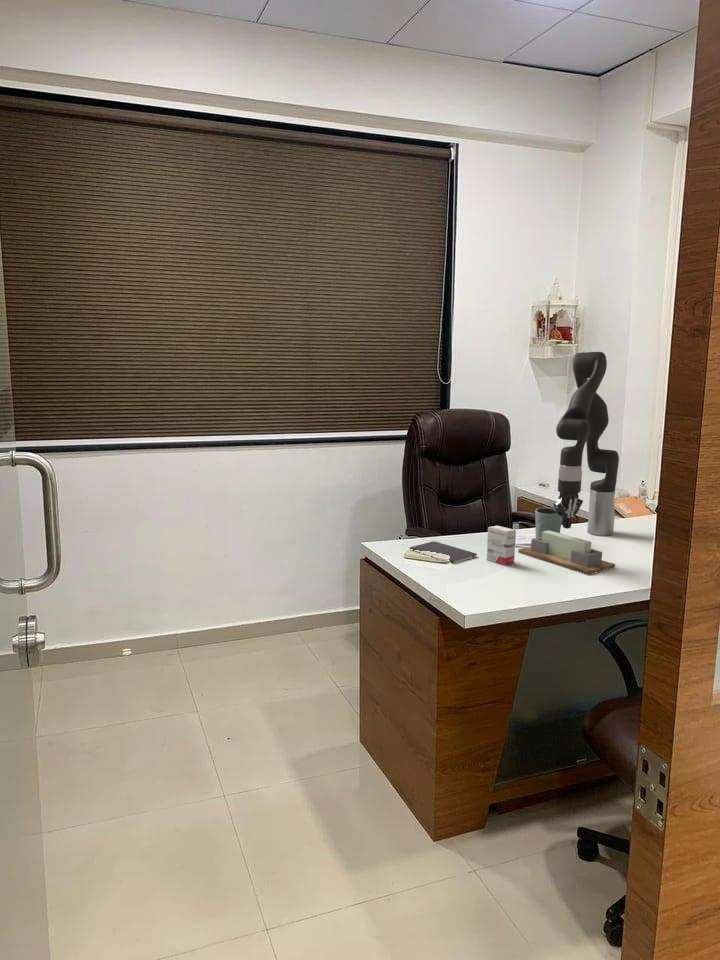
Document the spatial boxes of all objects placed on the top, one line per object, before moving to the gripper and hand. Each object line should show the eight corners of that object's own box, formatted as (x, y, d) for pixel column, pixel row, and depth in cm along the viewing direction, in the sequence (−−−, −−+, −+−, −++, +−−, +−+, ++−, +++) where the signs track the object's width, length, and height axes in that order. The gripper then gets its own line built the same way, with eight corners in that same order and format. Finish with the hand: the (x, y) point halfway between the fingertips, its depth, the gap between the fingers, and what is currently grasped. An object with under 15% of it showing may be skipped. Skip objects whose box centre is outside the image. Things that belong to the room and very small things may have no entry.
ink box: (514, 563, 238) (516, 529, 236) (505, 565, 235) (507, 531, 233) (495, 557, 244) (496, 524, 242) (485, 559, 241) (487, 526, 239)
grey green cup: (549, 536, 271) (551, 506, 269) (567, 543, 262) (568, 512, 260) (528, 539, 267) (529, 508, 265) (545, 546, 258) (546, 514, 256)
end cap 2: (587, 567, 230) (587, 555, 229) (570, 562, 235) (571, 550, 234) (601, 563, 234) (602, 552, 233) (584, 558, 239) (585, 547, 238)
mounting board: (544, 546, 258) (545, 543, 258) (614, 567, 233) (615, 564, 233) (518, 552, 250) (518, 549, 250) (587, 575, 226) (588, 571, 225)
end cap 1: (545, 546, 253) (545, 535, 253) (559, 550, 248) (560, 540, 247) (530, 549, 249) (531, 538, 249) (545, 554, 244) (546, 543, 243)
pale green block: (547, 549, 250) (548, 530, 249) (589, 562, 235) (591, 541, 234) (541, 550, 248) (542, 531, 247) (583, 563, 233) (584, 543, 232)
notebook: (409, 551, 253) (453, 565, 237) (409, 547, 252) (453, 560, 236) (433, 545, 261) (478, 558, 245) (434, 540, 260) (478, 553, 245)
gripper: (573, 474, 243) (570, 523, 246) (548, 478, 236) (545, 528, 239) (591, 478, 237) (588, 527, 240) (565, 481, 230) (562, 533, 233)
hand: (566, 527), depth 240 cm, fingers closed
